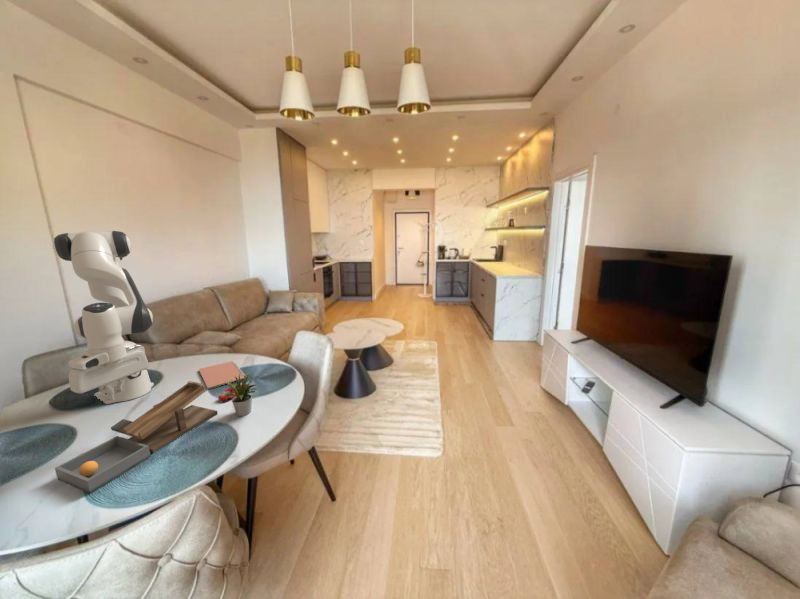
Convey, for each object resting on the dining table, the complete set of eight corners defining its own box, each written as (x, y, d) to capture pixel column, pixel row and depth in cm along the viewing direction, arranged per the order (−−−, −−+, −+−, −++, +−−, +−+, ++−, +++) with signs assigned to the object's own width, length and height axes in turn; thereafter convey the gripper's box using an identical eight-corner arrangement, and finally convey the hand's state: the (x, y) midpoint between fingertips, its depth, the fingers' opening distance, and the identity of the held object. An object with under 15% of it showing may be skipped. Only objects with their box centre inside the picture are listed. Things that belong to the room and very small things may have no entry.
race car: (224, 404, 133) (223, 395, 132) (215, 401, 135) (214, 393, 135) (250, 390, 145) (249, 382, 144) (242, 387, 147) (241, 380, 146)
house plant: (228, 429, 115) (222, 388, 112) (215, 415, 124) (209, 376, 121) (267, 413, 125) (262, 374, 122) (252, 401, 135) (247, 365, 131)
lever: (113, 432, 108) (107, 422, 106) (178, 386, 129) (174, 378, 127) (144, 441, 103) (138, 431, 101) (207, 392, 123) (203, 383, 122)
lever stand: (125, 444, 108) (120, 420, 106) (192, 408, 130) (188, 388, 128) (153, 453, 103) (148, 428, 101) (217, 414, 125) (214, 393, 123)
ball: (74, 465, 91) (91, 456, 95) (77, 477, 92) (94, 468, 96) (82, 468, 90) (99, 459, 94) (85, 481, 91) (102, 471, 95)
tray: (57, 479, 93) (54, 467, 92) (119, 446, 107) (117, 435, 106) (90, 493, 87) (87, 481, 87) (150, 456, 102) (148, 445, 101)
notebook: (247, 380, 156) (247, 376, 155) (208, 391, 145) (207, 387, 145) (234, 363, 176) (234, 360, 176) (199, 372, 166) (198, 368, 165)
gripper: (137, 341, 113) (143, 377, 116) (61, 364, 94) (71, 406, 97) (149, 343, 111) (155, 380, 114) (74, 367, 92) (84, 410, 95)
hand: (116, 392), depth 105 cm, fingers closed
